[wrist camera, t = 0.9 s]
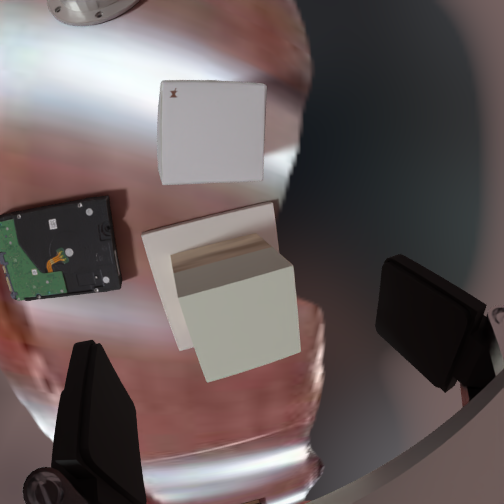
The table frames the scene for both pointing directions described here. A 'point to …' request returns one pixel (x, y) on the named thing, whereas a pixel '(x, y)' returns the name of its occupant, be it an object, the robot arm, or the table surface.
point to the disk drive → (60, 250)
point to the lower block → (217, 252)
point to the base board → (195, 236)
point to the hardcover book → (253, 502)
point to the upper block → (240, 312)
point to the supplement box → (210, 131)
